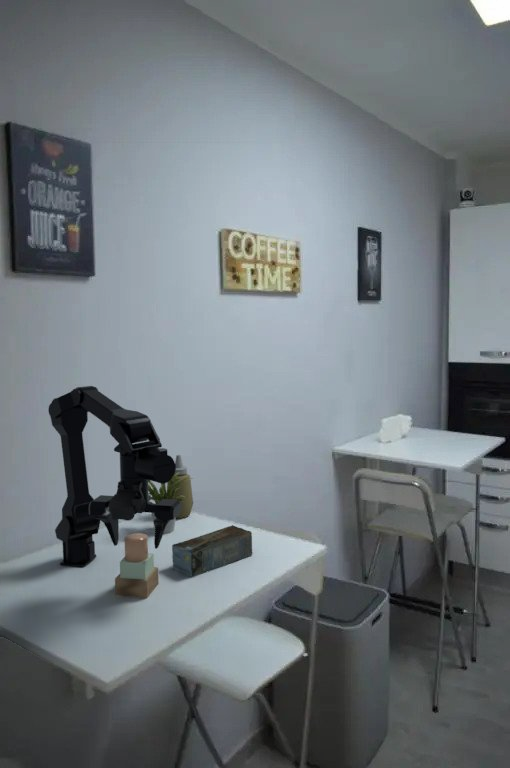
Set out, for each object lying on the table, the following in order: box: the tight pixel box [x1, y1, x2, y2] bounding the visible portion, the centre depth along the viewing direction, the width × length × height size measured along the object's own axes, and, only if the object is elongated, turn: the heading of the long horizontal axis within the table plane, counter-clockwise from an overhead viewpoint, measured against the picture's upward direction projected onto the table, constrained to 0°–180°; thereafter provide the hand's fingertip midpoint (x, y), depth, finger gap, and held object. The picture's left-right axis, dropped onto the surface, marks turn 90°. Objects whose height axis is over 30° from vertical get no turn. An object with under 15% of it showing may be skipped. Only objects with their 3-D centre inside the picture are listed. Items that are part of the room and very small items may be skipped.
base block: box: [114, 566, 160, 599], centre depth 132 cm, size 7×7×4 cm
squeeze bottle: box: [166, 454, 194, 519], centre depth 180 cm, size 8×8×18 cm
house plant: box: [148, 472, 194, 535], centre depth 168 cm, size 14×14×16 cm
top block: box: [119, 552, 155, 580], centre depth 131 cm, size 6×6×4 cm
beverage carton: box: [171, 524, 253, 578], centre depth 147 cm, size 8×19×7 cm, turn 133°
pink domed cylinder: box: [124, 532, 149, 562], centre depth 131 cm, size 5×5×4 cm
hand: (136, 546), depth 131 cm, fingers open, 9 cm apart
